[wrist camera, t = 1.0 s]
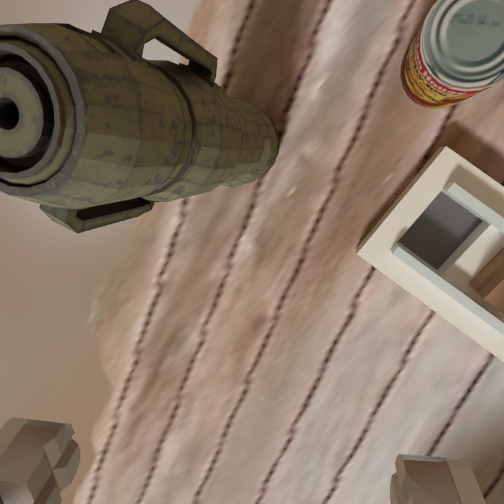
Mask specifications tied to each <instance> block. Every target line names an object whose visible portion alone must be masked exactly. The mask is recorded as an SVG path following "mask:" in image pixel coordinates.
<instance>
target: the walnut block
mask: <svg viewBox="0 0 504 504" xmlns="http://www.w3.org/2000/svg"><path fill="white" fill-rule="evenodd" d="M469 285H470V286H471V287H472V288H473V289H474V290H475V291H476V292H477V293H478V294H479V295H480V296H481V297H482V298H483V299H484V300H486V301H487V302H488V303H490V304H491V305H493V306H494V307H495V308H497V309H498V310H499V311H501V312H502V313H504V247H503V248H502V249H501V250H500V251H499V252H498V253H497V254H496V255H495V256H494V257H493V258H492V259H491V260H490V261H489V262H488V264H487V265H486V266H485V267H484V268H483V269H482V270H481V271H480V272H479V273H478V274H477V275H476V276H475V277H474V278H473V279H472V280H471V281H470V282H469Z"/></svg>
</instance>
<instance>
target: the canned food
mask: <svg viewBox="0 0 504 504" xmlns="http://www.w3.org/2000/svg"><path fill="white" fill-rule="evenodd" d="M502 80H504V0H437V1H436V2H435V4H434V5H433V6H432V7H431V9H430V11H429V13H428V14H427V16H426V18H425V20H424V22H423V23H422V25H421V27H420V29H419V30H418V32H417V34H416V36H415V37H414V39H413V41H412V43H411V45H410V46H409V48H408V50H407V52H406V54H405V55H404V57H403V61H402V65H401V82H402V86H403V89H404V91H405V92H406V94H407V96H408V97H409V98H410V99H411V100H412V101H414V102H415V103H416V104H418V105H420V106H422V107H425V108H431V109H441V108H447V107H449V106H452V105H455V104H457V103H459V102H461V101H463V100H465V99H467V98H469V97H471V96H473V95H475V94H477V93H479V92H482V91H484V90H486V89H488V88H490V87H492V86H494V85H496V84H497V83H499V82H500V81H502Z"/></svg>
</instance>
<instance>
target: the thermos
mask: <svg viewBox="0 0 504 504" xmlns="http://www.w3.org/2000/svg"><path fill="white" fill-rule="evenodd" d="M154 38H155V39H157V40H158V41H160V42H161V43H163V44H165V45H166V46H167V47H169V48H171V49H172V50H174V51H176V52H177V53H179V54H180V55H182V56H183V57H185V58H186V59H188V60H189V64H188V66H187V65H184V64H181V63H179V65H178V64H175V63H173V62H170V61H164V60H163V61H162V60H160V61H159V60H146V59H144V58H142V54H143V48H144V44H145V43H147V42H149V41H151V40H152V39H154ZM216 70H217V58H216V57H215V56H214V55H212V54H211V53H209V52H208V51H207V50H205V49H204V48H203V47H201V46H200V45H199V44H198V43H196V42H195V41H194V40H193V39H191V38H190V37H189V36H187V35H186V34H185V33H184V32H182V31H181V30H180V29H178V28H177V27H176V26H175V25H173V24H172V23H171V22H169V21H168V20H167V19H166V18H164V17H163V16H162V15H161V14H160V13H158V12H157V11H156V10H155V9H154V8H153V7H151V6H150V5H148V4H146V3H144V2H142V1H139V0H130V1H127V2H124V3H122V4H119V5H117V6H114V7H112V8H110V9H109V12H108V15H107V18H106V20H105V23H104V26H103V29H102V31H101V33H99V32H96V31H94V30H92V33H89V32H86V31H83V30H81V29H79V28H76V27H74V26H72V25H70V24H60V23H58V24H57V23H37V24H36V23H32V24H31V23H29V24H9V25H0V191H2V192H4V193H6V194H8V195H11V196H14V197H18V198H21V199H25V200H28V201H32V202H35V203H38V204H40V209H41V210H42V211H43V212H44V213H45V214H46V215H47V216H48V217H49V218H51V219H52V220H53V221H54V222H56V223H58V224H60V225H62V226H64V227H66V228H68V229H70V230H72V231H74V232H76V233H81V232H84V231H88V230H91V229H95V228H99V227H102V226H106V225H109V224H113V223H117V222H120V221H124V220H127V219H131V218H134V217H138V216H140V215H142V214H143V213H145V212H148V211H150V210H152V208H153V205H154V203H155V201H156V202H160V201H162V202H168V201H172V200H176V199H180V198H185V197H189V196H193V195H197V194H201V193H205V192H209V191H211V190H212V189H214V188H215V187H217V186H218V185H220V184H221V185H225V186H231V187H233V186H237V185H241V184H245V183H249V182H253V181H255V180H256V179H258V178H260V177H261V176H263V175H264V174H266V173H267V172H268V171H269V170H270V168H271V167H272V166H273V165H274V163H275V160H276V158H277V155H278V151H279V138H278V133H277V129H276V127H275V126H274V124H273V122H272V121H271V119H270V118H269V117H268V116H267V115H266V114H265V113H264V112H262V111H261V110H260V109H259V108H258V107H256V106H254V105H253V104H251V103H248V102H246V101H243V100H241V99H236V98H229V97H228V95H227V94H225V93H224V92H223V91H222V90H221V87H219V86H218V85H217V84H216V83H215V82H214V81H215V78H216Z"/></svg>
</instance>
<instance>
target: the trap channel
mask: <svg viewBox="0 0 504 504" xmlns="http://www.w3.org/2000/svg"><path fill="white" fill-rule="evenodd" d="M503 247H504V187H503V186H502V185H500V184H499V183H498V182H496V181H495V180H493V179H492V178H491V177H489V176H488V175H486V174H485V173H483V172H482V171H481V170H479V169H478V168H476V167H475V166H474V165H472V164H471V163H469V162H468V161H467V160H465V159H464V158H462V157H461V156H460V155H458V154H457V153H455V152H454V151H453V150H451V149H450V148H448V147H447V146H443V147H439V148H438V149H437V151H436V152H435V153H434V154H433V156H432V157H431V158H430V159H429V160H428V162H427V163H426V164H425V165H424V166H423V168H422V169H421V170H420V171H419V172H418V174H417V175H416V176H415V177H414V179H413V180H412V181H411V182H410V183H409V185H408V186H407V187H406V188H405V189H404V191H403V192H402V193H401V194H400V196H399V197H398V198H397V199H396V200H395V202H394V203H393V204H392V205H391V206H390V208H389V209H388V210H387V211H386V212H385V214H384V215H383V216H382V217H381V219H380V220H379V221H378V222H377V223H376V225H375V226H374V227H373V228H372V229H371V231H370V232H369V233H368V234H367V236H366V237H365V238H364V239H363V240H362V242H361V243H360V244H359V245H358V246H357V248H356V251H357V254H358V255H359V256H360V257H362V258H363V259H365V260H366V261H367V262H369V263H370V264H371V265H373V266H374V267H375V268H377V269H378V270H379V271H381V272H382V273H384V274H385V275H386V276H388V277H389V278H390V279H392V280H393V281H394V282H396V283H397V284H398V285H400V286H401V287H403V288H404V289H405V290H407V291H408V292H409V293H411V294H412V295H413V296H415V297H416V298H418V299H419V300H420V301H422V302H423V303H424V304H426V305H427V306H428V307H430V308H431V309H432V310H434V311H435V312H437V313H438V314H439V315H441V316H442V317H443V318H445V319H446V320H447V321H449V322H450V323H451V324H453V325H454V326H456V327H457V328H458V329H460V330H461V331H462V332H464V333H465V334H466V335H468V336H469V337H470V338H472V339H473V340H475V341H476V342H477V343H479V344H480V345H481V346H483V347H484V348H485V349H487V350H488V351H490V352H491V353H492V354H494V355H495V356H496V357H498V358H499V359H500V360H502V361H503V362H504V313H502V312H501V311H499V310H498V309H497V308H495V307H494V306H493V305H491V304H490V303H488V302H487V301H486V300H484V299H483V298H482V297H481V296H480V295H479V294H478V293H477V292H476V291H475V290H474V289H473V288H472V287H471V286H470V285H469V282H470V281H471V280H472V279H473V278H474V277H475V276H476V275H477V274H478V273H479V272H480V271H481V270H482V269H483V268H484V267H485V266H486V265H487V264H488V262H489V261H490V260H491V259H492V258H493V257H494V256H495V255H496V254H497V253H498V252H499V251H500V250H501V249H502V248H503Z"/></svg>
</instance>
